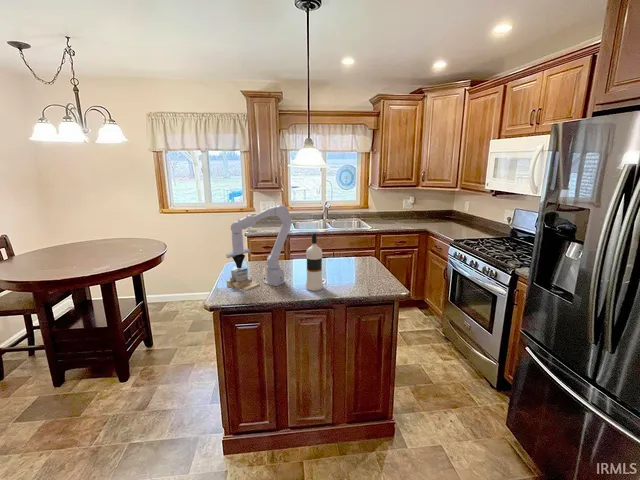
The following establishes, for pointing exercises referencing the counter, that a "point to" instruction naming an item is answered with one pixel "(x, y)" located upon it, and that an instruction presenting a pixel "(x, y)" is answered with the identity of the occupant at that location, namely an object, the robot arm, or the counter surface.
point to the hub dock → (242, 284)
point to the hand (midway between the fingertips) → (239, 267)
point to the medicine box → (240, 274)
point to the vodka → (314, 266)
